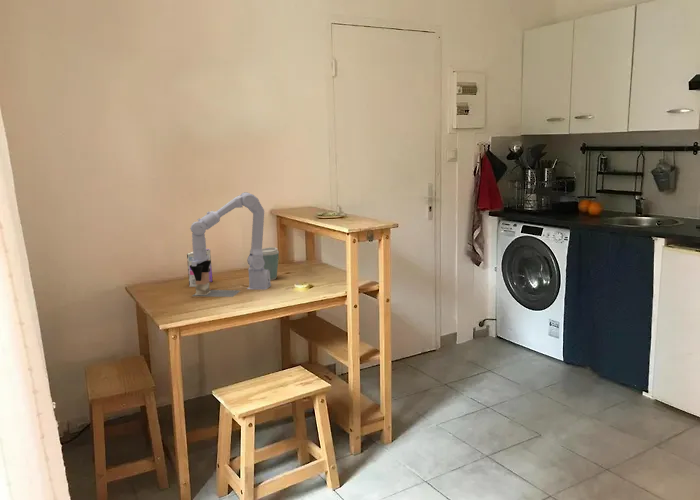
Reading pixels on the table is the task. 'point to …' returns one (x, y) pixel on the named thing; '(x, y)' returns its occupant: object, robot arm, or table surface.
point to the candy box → (190, 272)
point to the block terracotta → (204, 278)
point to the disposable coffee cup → (271, 261)
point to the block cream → (202, 288)
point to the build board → (220, 293)
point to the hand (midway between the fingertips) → (201, 278)
